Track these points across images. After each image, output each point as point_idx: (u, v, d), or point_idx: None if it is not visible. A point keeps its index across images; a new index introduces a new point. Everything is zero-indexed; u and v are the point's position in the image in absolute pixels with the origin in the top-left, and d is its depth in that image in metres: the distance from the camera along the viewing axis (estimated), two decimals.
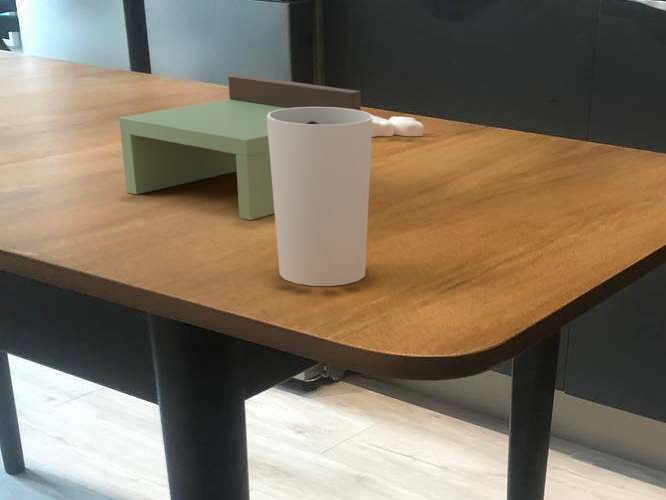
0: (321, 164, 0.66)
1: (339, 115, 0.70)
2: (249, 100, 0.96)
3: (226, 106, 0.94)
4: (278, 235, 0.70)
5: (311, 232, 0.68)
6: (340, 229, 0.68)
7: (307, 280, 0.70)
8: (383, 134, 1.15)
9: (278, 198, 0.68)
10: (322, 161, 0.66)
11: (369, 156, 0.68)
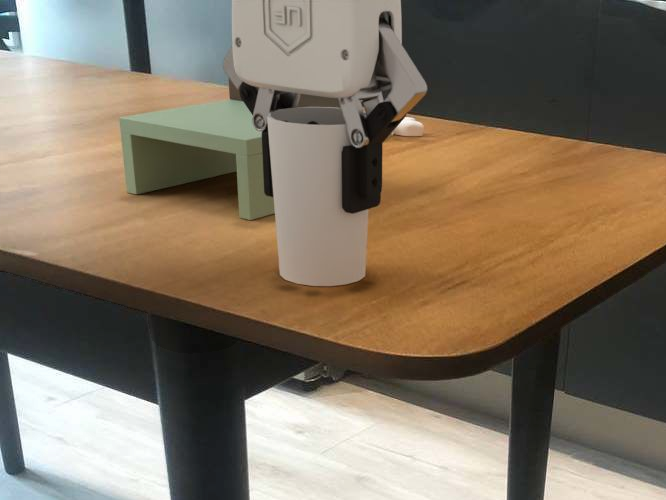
0: (321, 164, 0.66)
1: (340, 115, 0.70)
2: None
3: (226, 106, 0.94)
4: (278, 235, 0.70)
5: (311, 232, 0.68)
6: (340, 229, 0.68)
7: (307, 280, 0.70)
8: None
9: (278, 198, 0.68)
10: (322, 161, 0.66)
11: None
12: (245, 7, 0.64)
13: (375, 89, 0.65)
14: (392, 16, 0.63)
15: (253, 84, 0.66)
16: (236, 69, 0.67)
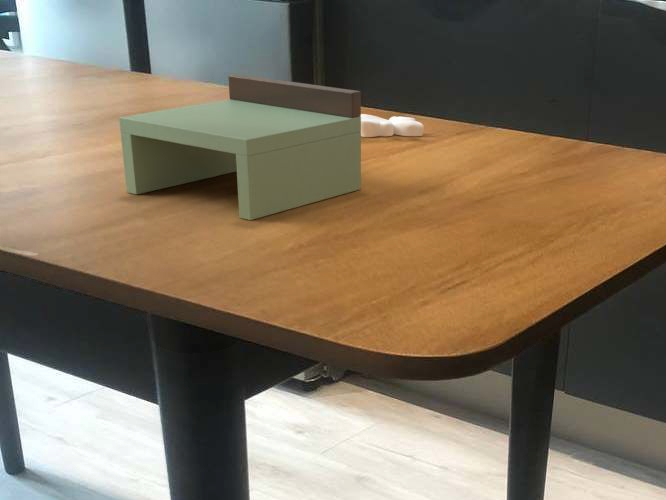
0: None
1: None
2: (249, 100, 0.96)
3: (226, 106, 0.94)
4: None
5: None
6: None
7: None
8: (383, 134, 1.15)
9: None
10: None
11: None
12: None
13: None
14: None
15: None
16: None
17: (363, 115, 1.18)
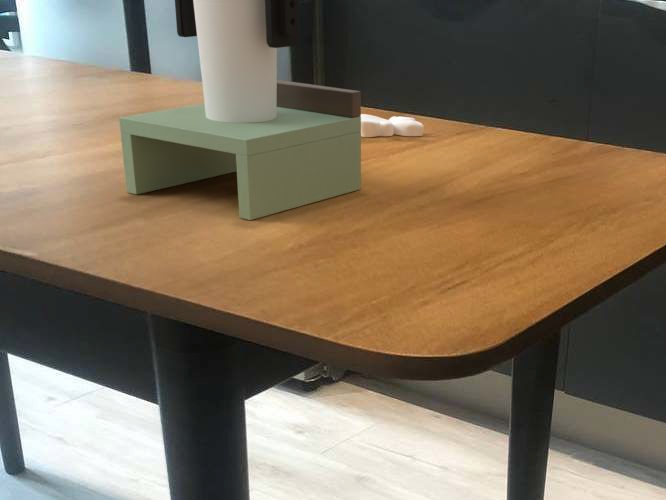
0: (234, 18, 0.83)
1: None
2: None
3: None
4: (203, 82, 0.87)
5: (228, 76, 0.85)
6: (251, 74, 0.85)
7: (226, 118, 0.87)
8: (383, 134, 1.15)
9: (202, 49, 0.85)
10: (234, 15, 0.83)
11: None
12: None
13: None
14: None
15: None
16: None
17: (363, 115, 1.18)
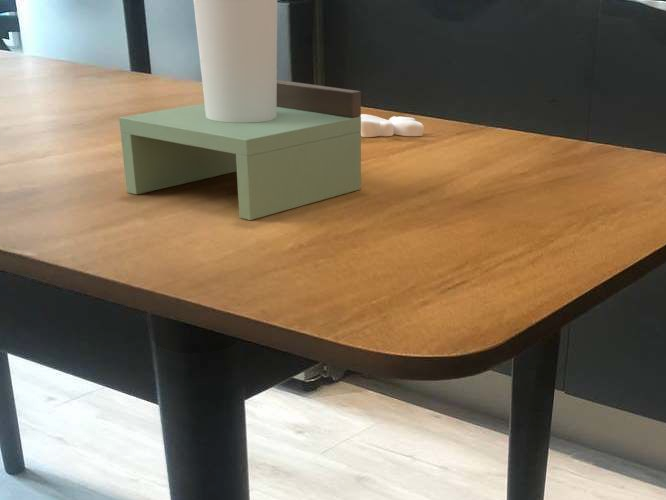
0: (234, 17, 0.83)
1: None
2: None
3: None
4: (203, 82, 0.87)
5: (228, 76, 0.85)
6: (251, 74, 0.85)
7: (226, 118, 0.87)
8: (383, 134, 1.15)
9: (202, 49, 0.85)
10: (234, 15, 0.83)
11: (274, 15, 0.85)
12: None
13: None
14: None
15: None
16: None
17: (363, 115, 1.18)
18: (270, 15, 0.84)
